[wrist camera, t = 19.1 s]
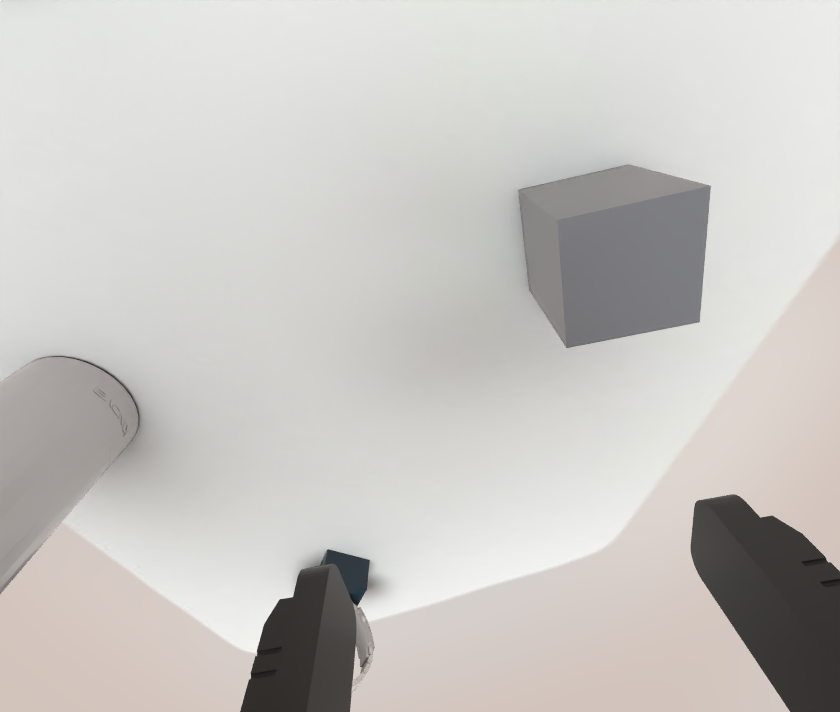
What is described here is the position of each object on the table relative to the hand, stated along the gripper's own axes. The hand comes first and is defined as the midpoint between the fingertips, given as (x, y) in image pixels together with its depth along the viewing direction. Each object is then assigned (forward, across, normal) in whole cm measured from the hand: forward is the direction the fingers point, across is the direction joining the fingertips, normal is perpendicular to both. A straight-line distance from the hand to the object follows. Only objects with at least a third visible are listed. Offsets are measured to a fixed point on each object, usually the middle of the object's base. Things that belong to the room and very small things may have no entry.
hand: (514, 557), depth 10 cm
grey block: (+23, -9, -1) cm, 25 cm away
